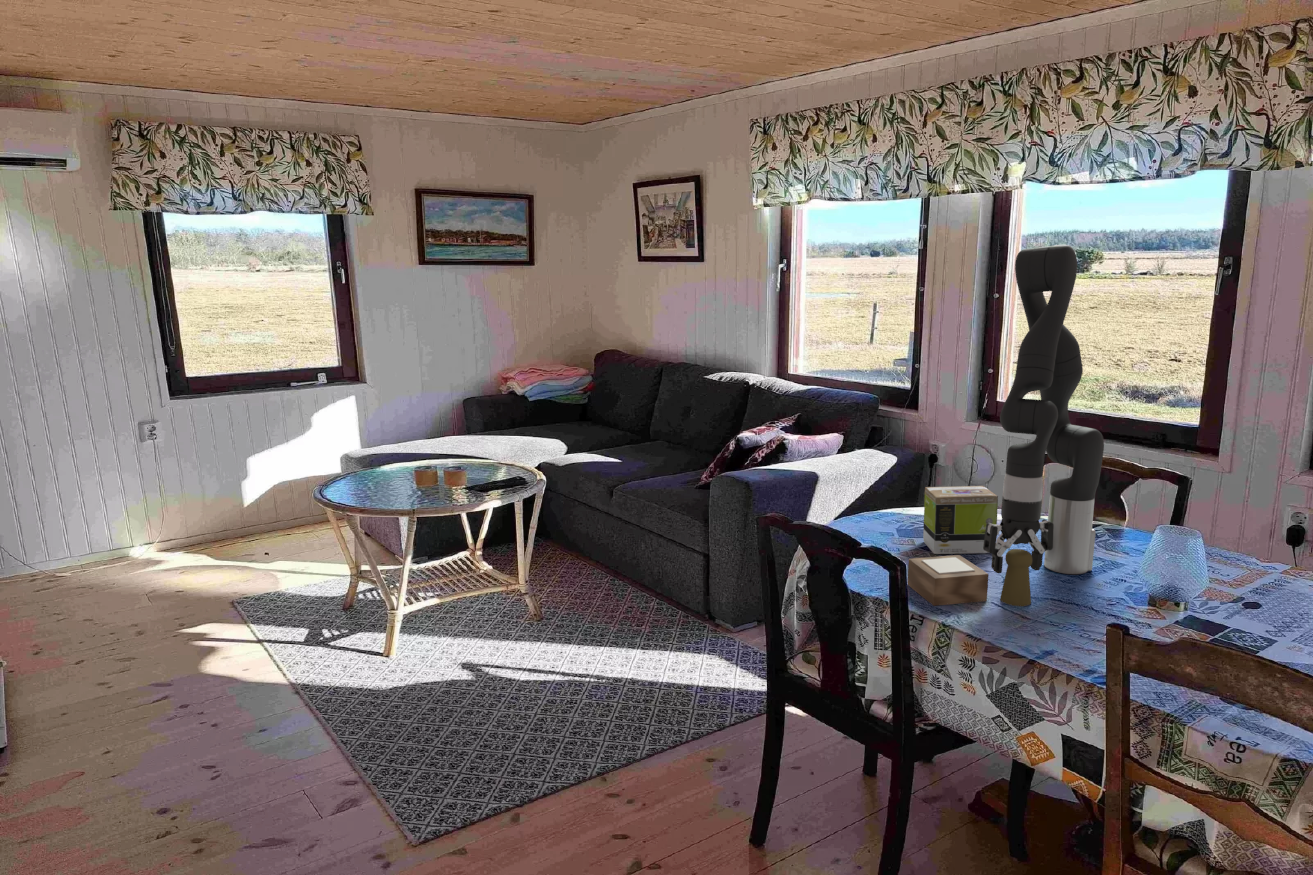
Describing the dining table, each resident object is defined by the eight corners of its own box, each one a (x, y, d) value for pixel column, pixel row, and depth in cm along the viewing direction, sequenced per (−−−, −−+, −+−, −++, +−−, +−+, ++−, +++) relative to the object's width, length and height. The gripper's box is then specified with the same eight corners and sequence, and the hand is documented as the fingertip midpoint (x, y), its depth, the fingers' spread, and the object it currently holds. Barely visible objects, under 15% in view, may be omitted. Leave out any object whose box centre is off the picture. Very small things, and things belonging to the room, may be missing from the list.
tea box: (981, 541, 221) (985, 484, 218) (995, 554, 211) (1000, 495, 208) (921, 541, 221) (924, 485, 218) (933, 555, 212) (936, 496, 208)
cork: (1034, 607, 180) (1038, 556, 178) (1002, 605, 181) (1006, 554, 179) (1027, 596, 186) (1031, 546, 184) (997, 594, 187) (1001, 545, 185)
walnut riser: (957, 580, 195) (959, 553, 194) (986, 601, 184) (988, 572, 182) (907, 584, 193) (908, 557, 192) (933, 605, 182) (935, 577, 180)
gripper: (1043, 489, 184) (1036, 562, 187) (980, 492, 182) (975, 566, 185) (1065, 498, 177) (1058, 574, 180) (1000, 502, 174) (994, 579, 178)
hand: (1016, 570), depth 182 cm, fingers open, 8 cm apart
